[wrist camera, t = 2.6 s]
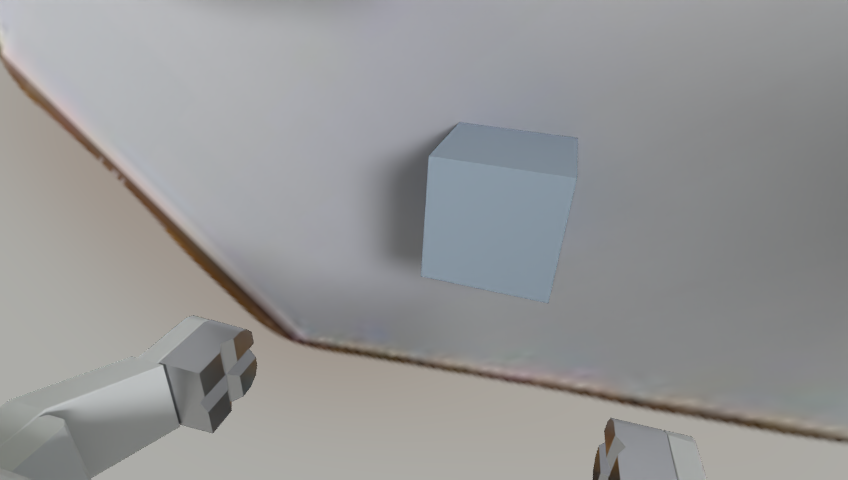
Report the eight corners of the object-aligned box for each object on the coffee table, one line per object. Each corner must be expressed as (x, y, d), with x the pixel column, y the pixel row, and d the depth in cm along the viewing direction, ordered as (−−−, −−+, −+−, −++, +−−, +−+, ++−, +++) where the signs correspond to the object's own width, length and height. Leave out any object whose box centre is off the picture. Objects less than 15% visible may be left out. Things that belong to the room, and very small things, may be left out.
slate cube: (577, 137, 19) (577, 178, 15) (554, 242, 22) (548, 303, 18) (460, 121, 20) (428, 155, 16) (450, 223, 23) (420, 276, 19)
